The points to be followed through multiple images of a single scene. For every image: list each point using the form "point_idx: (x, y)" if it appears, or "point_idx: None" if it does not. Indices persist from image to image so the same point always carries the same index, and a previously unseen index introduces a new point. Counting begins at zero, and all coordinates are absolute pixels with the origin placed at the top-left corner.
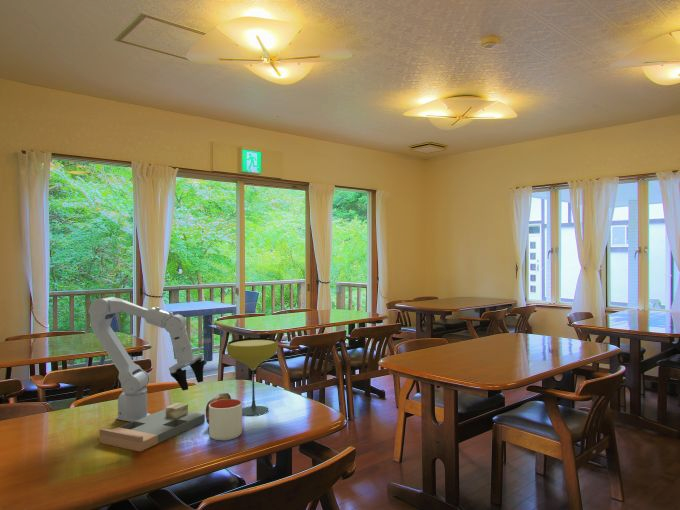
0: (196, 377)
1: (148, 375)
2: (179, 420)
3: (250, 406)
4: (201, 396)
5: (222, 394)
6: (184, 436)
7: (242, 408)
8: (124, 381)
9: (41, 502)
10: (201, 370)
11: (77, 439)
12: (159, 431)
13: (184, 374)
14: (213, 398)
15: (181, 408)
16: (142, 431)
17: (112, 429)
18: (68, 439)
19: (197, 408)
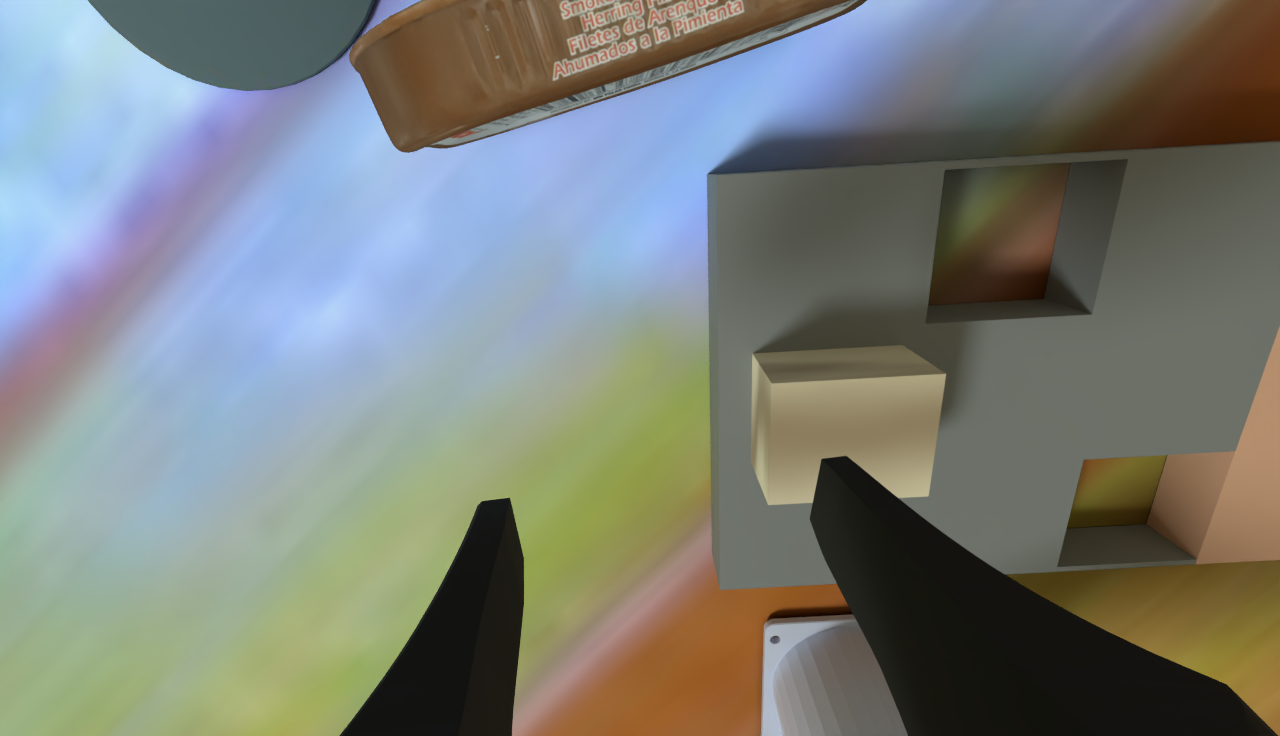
0: (517, 635)
1: None
2: (927, 280)
3: (164, 3)
4: (266, 650)
5: (509, 21)
6: (1078, 50)
7: (258, 65)
8: None
9: None
10: (453, 663)
11: (1242, 660)
12: (1254, 199)
13: (1061, 654)
14: (720, 18)
15: (858, 371)
16: (1268, 334)
17: (1244, 559)
18: (1247, 696)
19: (485, 477)
